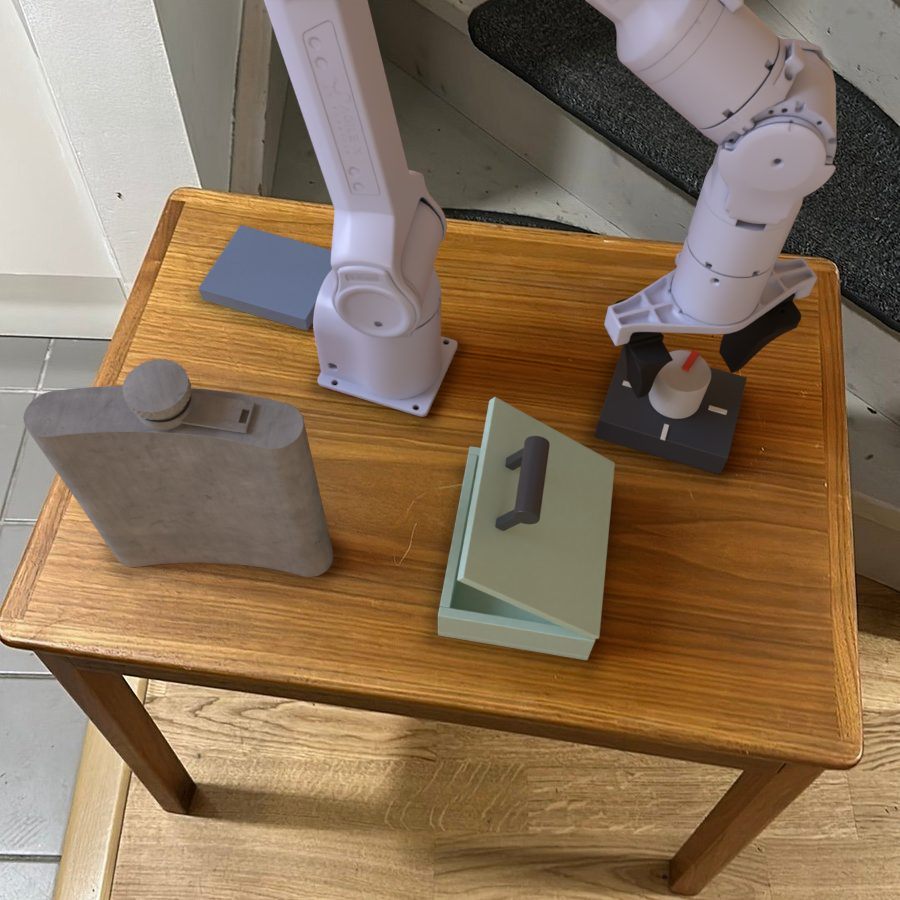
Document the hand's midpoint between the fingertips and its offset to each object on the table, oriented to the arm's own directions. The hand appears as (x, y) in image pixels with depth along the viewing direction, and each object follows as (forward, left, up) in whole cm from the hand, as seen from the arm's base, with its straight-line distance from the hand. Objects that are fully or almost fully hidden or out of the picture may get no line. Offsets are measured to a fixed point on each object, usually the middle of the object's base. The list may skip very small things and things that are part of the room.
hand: (683, 374), depth 69 cm
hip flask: (-28, -22, -6) cm, 36 cm away
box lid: (-7, -16, +1) cm, 17 cm away
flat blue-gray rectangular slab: (-35, +2, -6) cm, 36 cm away
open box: (-7, -16, -6) cm, 18 cm away
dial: (0, 0, -3) cm, 3 cm away
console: (0, 0, -6) cm, 6 cm away
